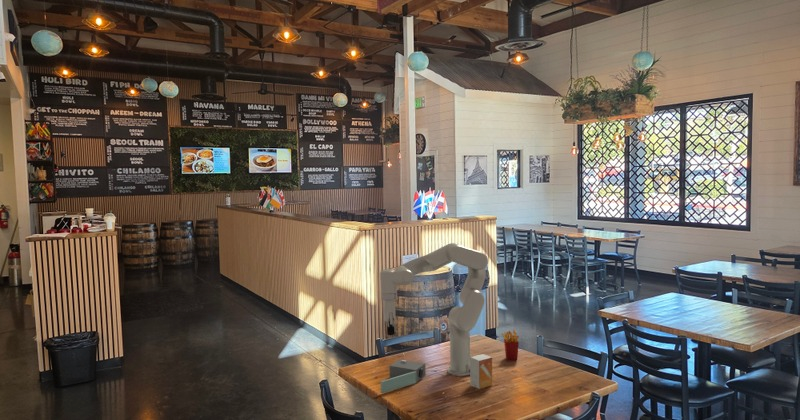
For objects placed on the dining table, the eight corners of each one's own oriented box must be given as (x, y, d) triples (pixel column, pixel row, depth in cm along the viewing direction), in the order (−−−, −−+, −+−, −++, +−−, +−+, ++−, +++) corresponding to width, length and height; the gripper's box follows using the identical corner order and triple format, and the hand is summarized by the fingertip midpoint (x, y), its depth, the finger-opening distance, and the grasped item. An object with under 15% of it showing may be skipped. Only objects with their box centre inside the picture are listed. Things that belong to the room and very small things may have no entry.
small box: (479, 389, 232) (479, 360, 231) (469, 385, 237) (469, 357, 236) (492, 385, 236) (492, 357, 235) (483, 381, 241) (482, 353, 241)
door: (415, 382, 241) (415, 370, 241) (416, 382, 240) (416, 371, 240) (381, 393, 229) (380, 381, 229) (382, 393, 229) (381, 381, 228)
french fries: (519, 361, 267) (519, 332, 266) (503, 361, 267) (502, 332, 266) (515, 355, 275) (515, 327, 275) (500, 356, 275) (499, 327, 275)
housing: (427, 376, 249) (427, 361, 249) (418, 383, 241) (417, 368, 240) (399, 371, 257) (399, 357, 256) (389, 378, 248) (389, 364, 247)
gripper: (380, 293, 252) (381, 330, 253) (382, 300, 237) (384, 339, 238) (395, 292, 253) (397, 329, 254) (398, 298, 238) (400, 338, 239)
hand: (391, 334), depth 246 cm, fingers closed
